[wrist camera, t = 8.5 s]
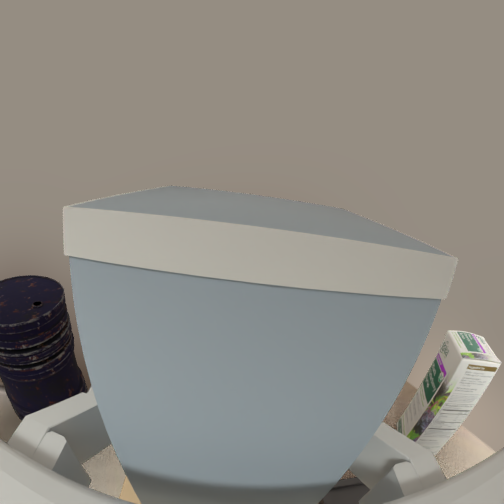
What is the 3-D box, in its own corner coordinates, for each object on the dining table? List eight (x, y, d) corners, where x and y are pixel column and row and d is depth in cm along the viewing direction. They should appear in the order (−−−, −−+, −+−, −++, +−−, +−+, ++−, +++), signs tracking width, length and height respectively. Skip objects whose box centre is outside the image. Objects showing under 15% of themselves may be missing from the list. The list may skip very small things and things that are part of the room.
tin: (160, 536, 6) (63, 206, 3) (174, 461, 11) (170, 185, 8) (272, 546, 7) (458, 258, 3) (267, 470, 12) (343, 208, 8)
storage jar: (8, 421, 16) (-44, 304, 12) (46, 376, 25) (18, 269, 21) (75, 460, 16) (16, 340, 12) (108, 400, 25) (85, 286, 21)
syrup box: (394, 422, 26) (445, 327, 22) (431, 425, 25) (484, 334, 21) (396, 455, 21) (461, 356, 17) (436, 456, 19) (504, 361, 15)
